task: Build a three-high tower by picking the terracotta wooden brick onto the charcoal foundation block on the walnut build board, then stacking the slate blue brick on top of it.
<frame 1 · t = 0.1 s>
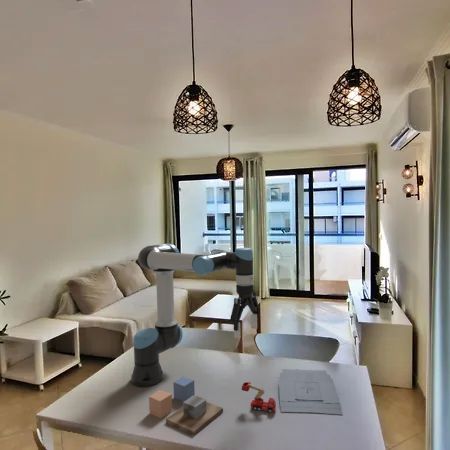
hand: (246, 332, 151), 28 cm above the table, fingers open, 13 cm apart
build board: (195, 417, 138), on the table
slate blue brick: (184, 396, 153), on the table
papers: (307, 395, 153), on the table
toy fire truck: (259, 408, 143), on the table
terracotta brick: (160, 412, 142), on the table
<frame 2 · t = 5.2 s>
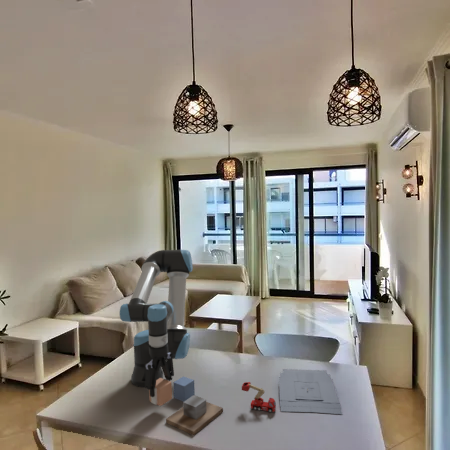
hand: (160, 399, 142), 5 cm above the table, fingers closed on terracotta brick, 6 cm apart
terracotta brick: (160, 399, 142), point 5 cm above the table, touching gripper
everything else where it was.
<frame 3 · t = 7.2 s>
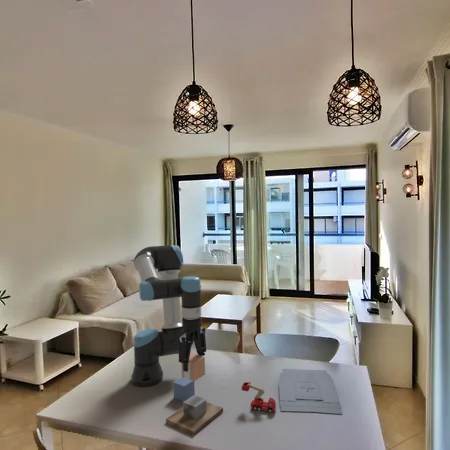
hand: (193, 374, 137), 17 cm above the table, fingers closed on terracotta brick, 6 cm apart
terracotta brick: (193, 375, 137), point 17 cm above the table, touching gripper
everything else where it was.
when the fingers open (7 cm above the table, at t = 9.3 s): terracotta brick stays where it is, resting on build board.
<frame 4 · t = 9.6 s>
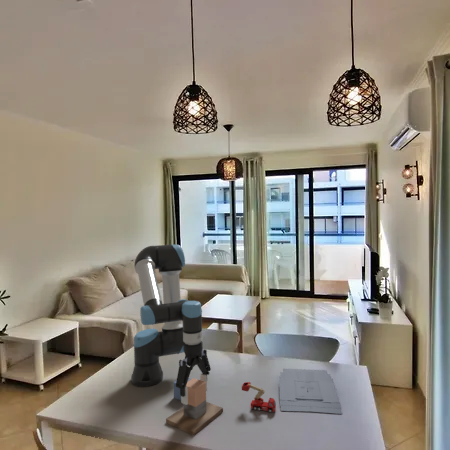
hand: (194, 396, 137), 8 cm above the table, fingers open, 11 cm apart
terracotta brick: (194, 400, 137), point 6 cm above the table, touching build board
everything else where it was.
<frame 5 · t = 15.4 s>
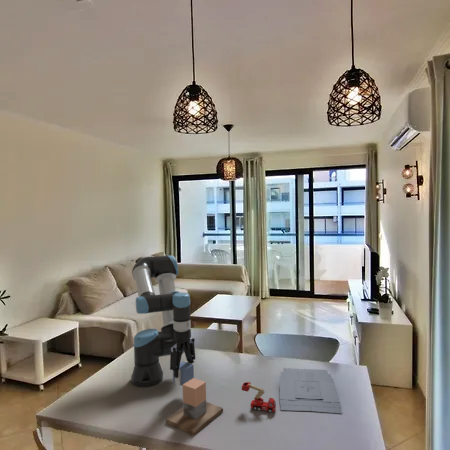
hand: (183, 380, 153), 7 cm above the table, fingers closed on slate blue brick, 6 cm apart
slate blue brick: (183, 381, 153), point 7 cm above the table, touching gripper
everything else where it was.
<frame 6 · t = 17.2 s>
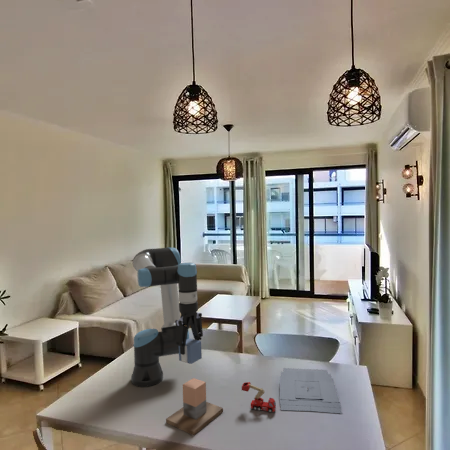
hand: (190, 358, 141), 22 cm above the table, fingers closed on slate blue brick, 6 cm apart
slate blue brick: (190, 359, 141), point 21 cm above the table, touching gripper
when the fingers open (14 cm above the table, at t = 19.5 s): slate blue brick stays where it is, resting on terracotta brick.
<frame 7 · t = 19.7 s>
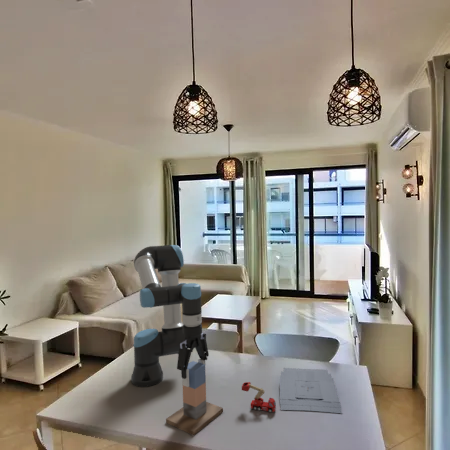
hand: (194, 380, 137), 15 cm above the table, fingers open, 9 cm apart
slate blue brick: (194, 383, 137), point 13 cm above the table, touching terracotta brick
terracotta brick: (194, 400, 137), point 6 cm above the table, touching build board, slate blue brick
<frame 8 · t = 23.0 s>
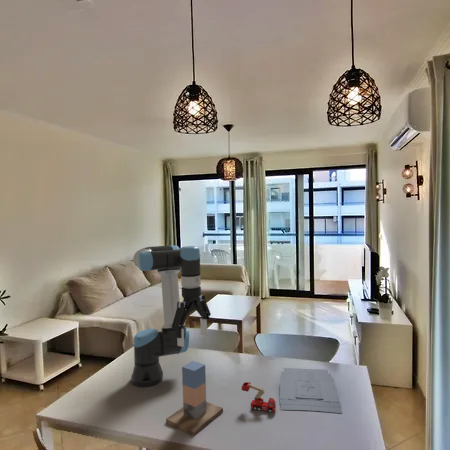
hand: (192, 340, 136), 31 cm above the table, fingers open, 13 cm apart
at the end: terracotta brick 0.0 cm off-centre on the build board, point 6.5 cm above the build board's base; slate blue brick 0.1 cm off-centre on the build board, point 13.5 cm above the build board's base; slate blue brick tilted 0° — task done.
